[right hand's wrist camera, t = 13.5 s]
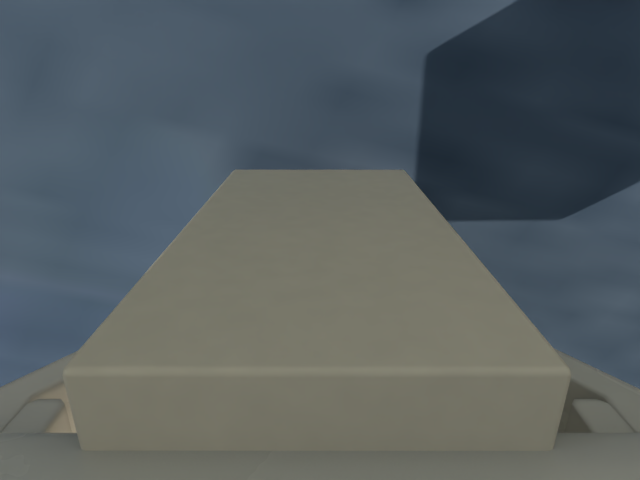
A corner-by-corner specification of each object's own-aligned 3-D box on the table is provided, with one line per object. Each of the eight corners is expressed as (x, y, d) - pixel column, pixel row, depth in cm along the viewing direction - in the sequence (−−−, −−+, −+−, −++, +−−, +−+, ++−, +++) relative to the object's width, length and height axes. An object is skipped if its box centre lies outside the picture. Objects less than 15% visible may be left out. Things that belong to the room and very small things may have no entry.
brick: (244, 326, 15) (137, 685, 6) (233, 169, 13) (56, 370, 4) (393, 326, 15) (497, 686, 6) (405, 169, 13) (577, 370, 4)
